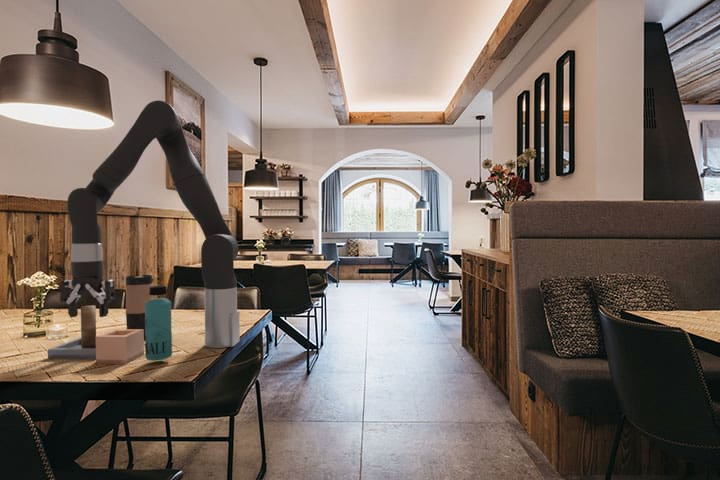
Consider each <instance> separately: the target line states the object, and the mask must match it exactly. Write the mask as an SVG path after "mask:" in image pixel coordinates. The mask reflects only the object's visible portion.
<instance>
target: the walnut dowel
mask: <svg viewBox="0 0 720 480" xmlns="http://www.w3.org/2000/svg"><path fill="white" fill-rule="evenodd" d="M96 309H97V307H96V305H92V304H91V305H84V306H80V338H81V348H96V336H97V314H96Z"/></svg>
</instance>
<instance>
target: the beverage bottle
mask: <svg viewBox="0 0 720 480" xmlns="http://www.w3.org/2000/svg"><path fill="white" fill-rule="evenodd" d="M167 294H168V289H167V285H154V286H153V287H150V292H149V295H153V296H163V295H167ZM172 303H173V302H171V300H169V299H168V298H166V297H158V298H153V299H150V300H149V301H147V302H146V304H145V319H144V322H145V323H144V324H145V340H144V348H145V353H144V355H145V359H146V360H147V361H161V360H167V359H168V358H171V357H172V355H173V353H174V352H173V338H172V337H173V331H172Z"/></svg>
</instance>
